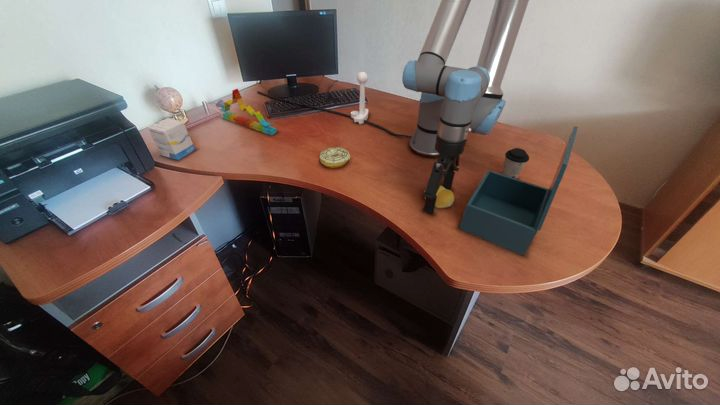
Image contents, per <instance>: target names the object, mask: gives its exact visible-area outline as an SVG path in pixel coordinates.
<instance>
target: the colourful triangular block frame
mask: <svg viewBox="0 0 720 405" xmlns="http://www.w3.org/2000/svg"><path fill="white" fill-rule="evenodd" d="M231 93H232V94H231V95H232V100H231V99H229V100H226V101H224V107H222V108H220V111H222V112H223V113H222V119H224V120H227V121H229V122H233V123H235V124H238V125H240V126H241V125H242V126H243V127H246V128H250V129H253V130H255V131H258V132H261V133H264V134H266V135H269V136H273V135H275V134H277V133H278V131H277V128H276V127H274V126H271V125H273V124H275V122H274V121H273V122H271V123H270V122H268V121H267V120H266V119H265V118H264V116H263V114H262V113H261V111H260V110H258V111H255V110H254V109H253V107H252V106H251V105H250V104H249V105H247V106H246V104H245V101H244V100H243V97H242V95H241V93H240V91H239V88H235V89H233V90H232V92H231ZM237 103H238V106H239V108H240V110H241V112H242V113H243V112H245V111H246V112H247V113H248V114H249V115H250V117H252V116H255V117H256V119H257V120H258V121H255V120H253V119H249V118H246V117H243V116H241V115H238V114H235V113H232V112H229V111H230V109H231V106H232V105H234V104H237Z"/></svg>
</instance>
